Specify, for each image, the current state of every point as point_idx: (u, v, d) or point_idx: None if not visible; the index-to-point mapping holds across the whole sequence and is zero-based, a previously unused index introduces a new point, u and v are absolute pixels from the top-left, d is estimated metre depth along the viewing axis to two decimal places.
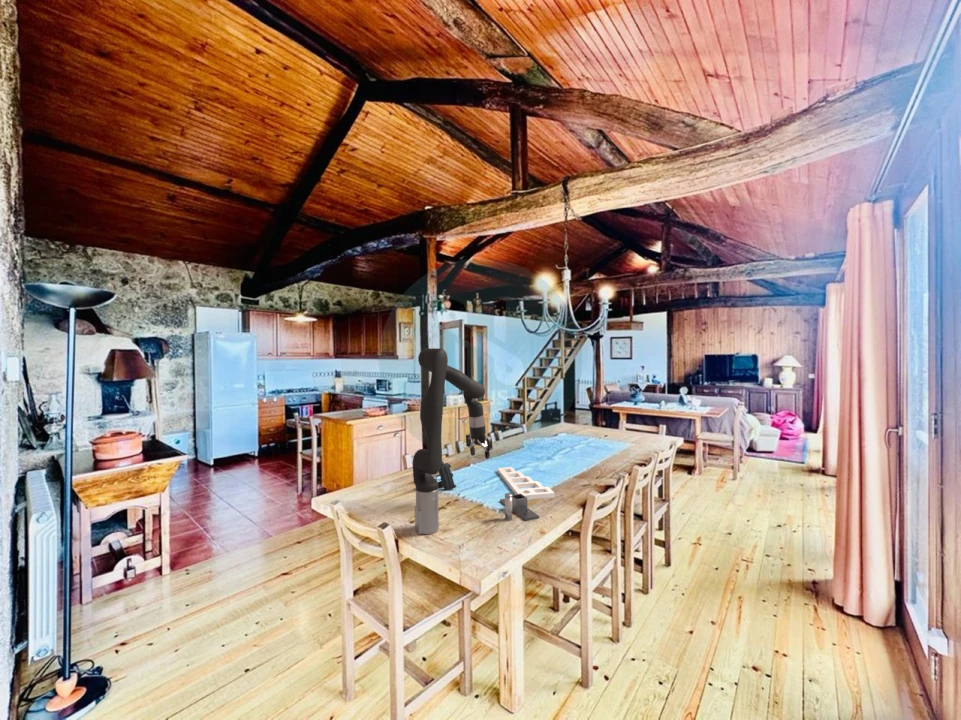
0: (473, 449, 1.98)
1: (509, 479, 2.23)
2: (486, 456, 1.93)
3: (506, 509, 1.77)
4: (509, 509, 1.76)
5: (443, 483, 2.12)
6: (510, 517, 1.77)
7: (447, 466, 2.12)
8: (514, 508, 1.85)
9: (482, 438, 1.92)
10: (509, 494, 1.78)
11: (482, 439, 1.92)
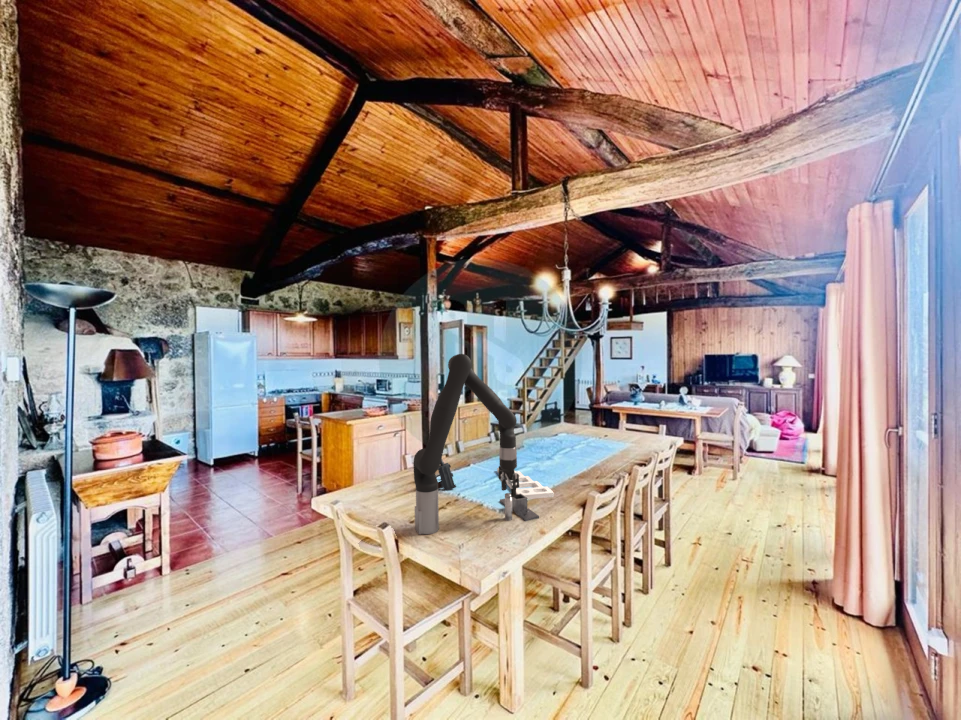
0: (504, 483, 1.81)
1: None
2: (512, 494, 1.73)
3: (506, 509, 1.77)
4: (509, 509, 1.76)
5: (443, 483, 2.12)
6: (510, 517, 1.77)
7: (447, 466, 2.12)
8: (514, 508, 1.85)
9: (509, 473, 1.74)
10: (509, 494, 1.78)
11: (509, 474, 1.74)
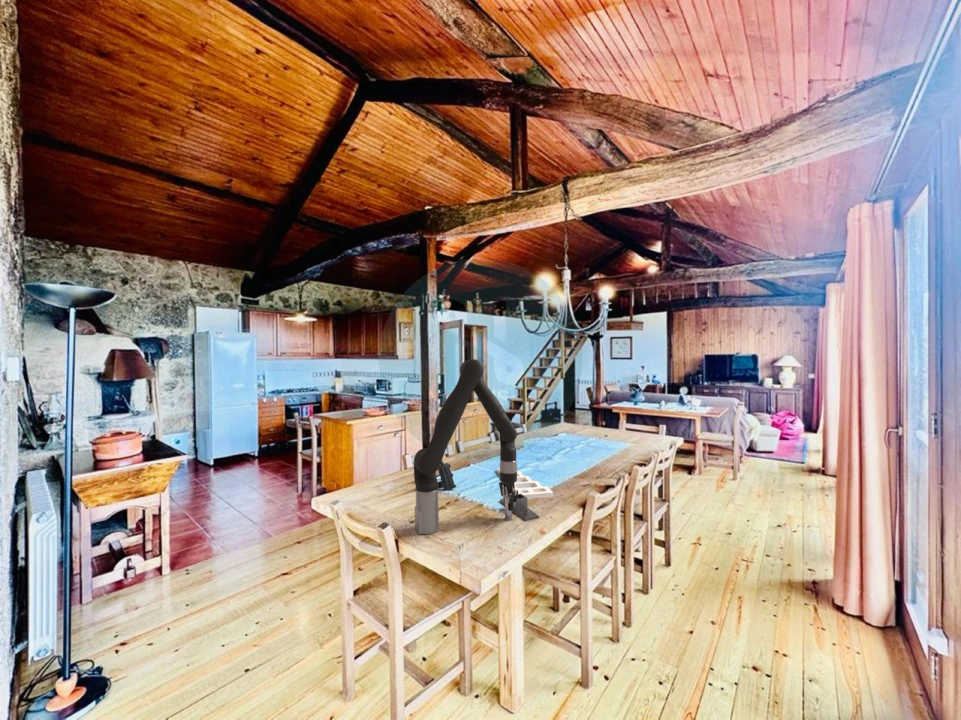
0: None
1: None
2: (509, 508, 1.76)
3: (506, 509, 1.77)
4: None
5: (443, 483, 2.12)
6: (510, 517, 1.77)
7: (447, 466, 2.12)
8: (514, 508, 1.85)
9: (510, 487, 1.74)
10: (509, 494, 1.78)
11: (509, 487, 1.74)
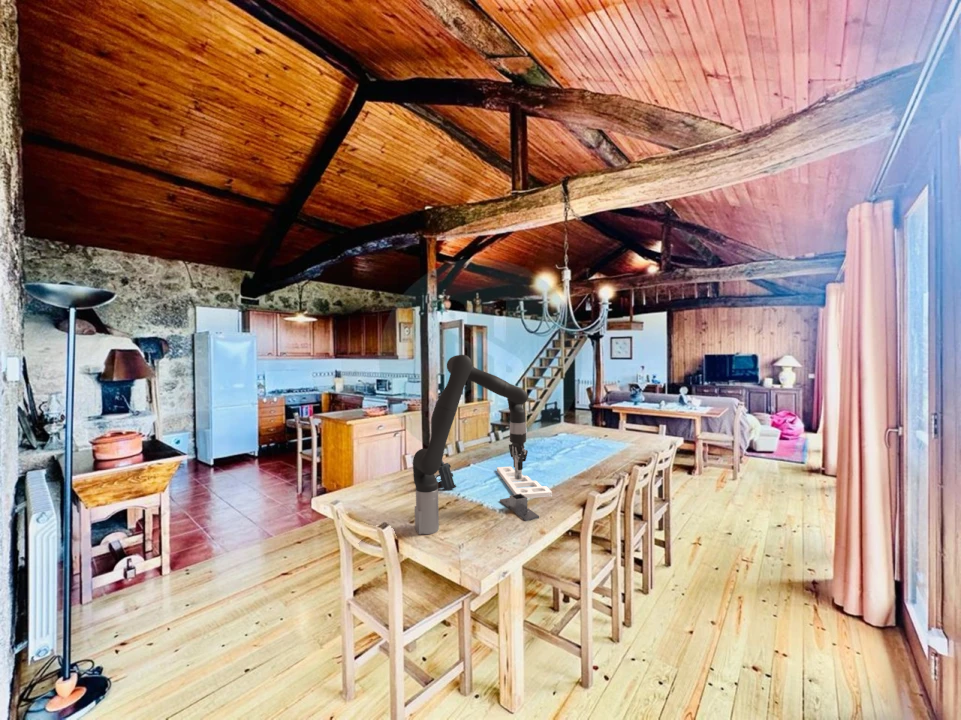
0: None
1: (508, 478, 2.24)
2: (518, 467, 1.85)
3: (516, 469, 1.86)
4: None
5: (443, 483, 2.12)
6: (520, 476, 1.86)
7: (447, 466, 2.12)
8: (514, 508, 1.85)
9: (519, 447, 1.83)
10: (519, 454, 1.87)
11: (519, 447, 1.84)
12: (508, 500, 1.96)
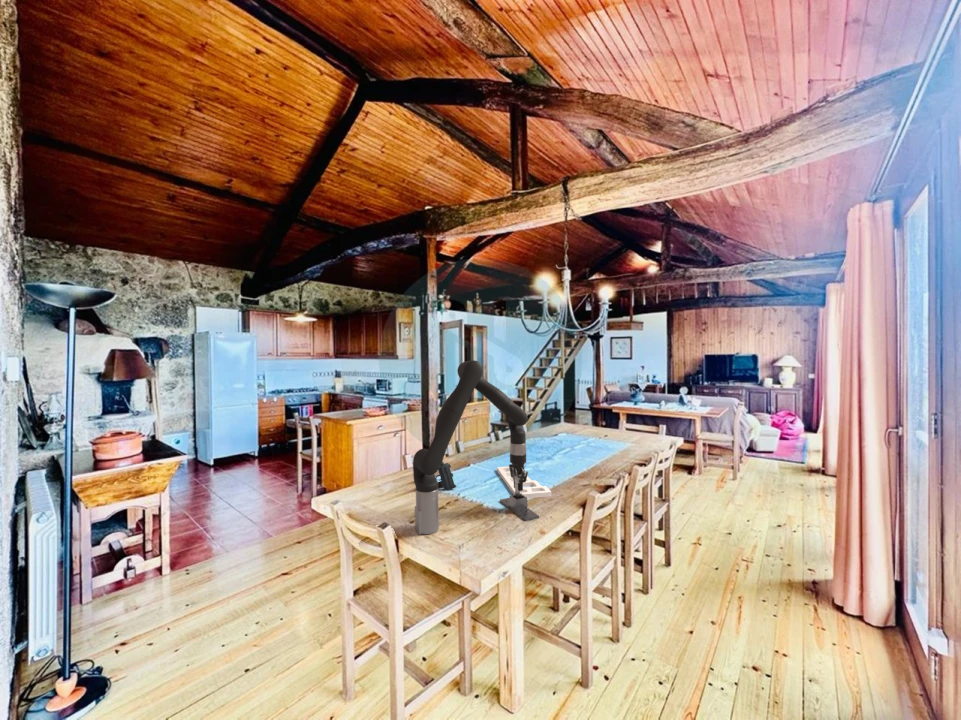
0: None
1: (507, 478, 2.25)
2: (518, 488, 1.85)
3: (516, 489, 1.87)
4: None
5: (443, 483, 2.12)
6: (520, 497, 1.87)
7: (447, 466, 2.12)
8: (514, 508, 1.85)
9: (519, 468, 1.84)
10: (519, 475, 1.88)
11: (519, 469, 1.84)
12: (508, 500, 1.96)
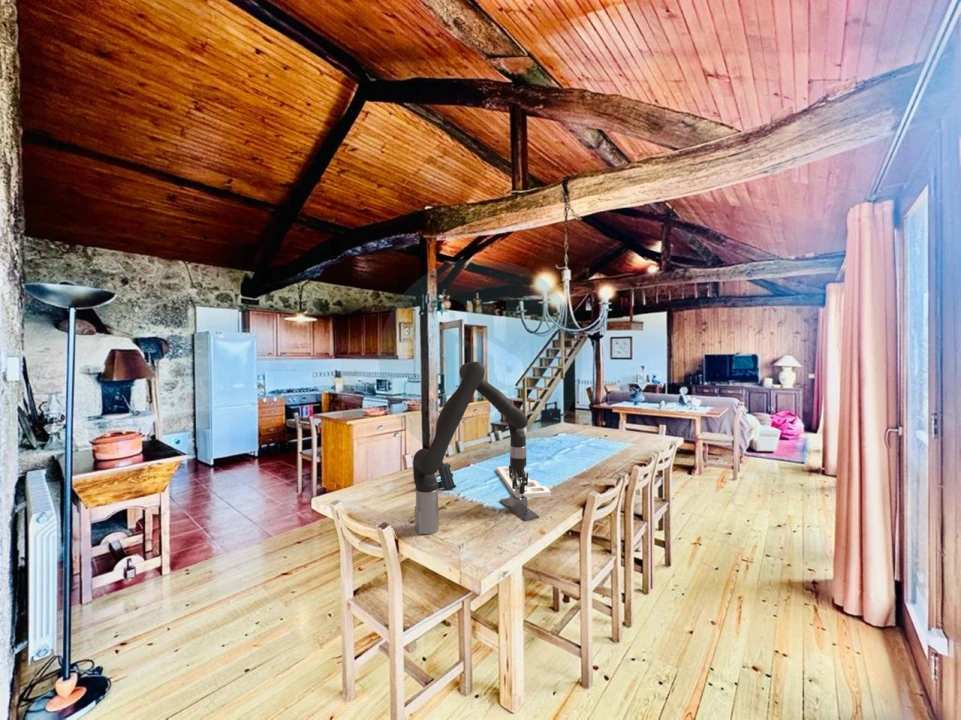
0: (515, 482, 1.91)
1: (507, 478, 2.25)
2: (520, 491, 1.84)
3: None
4: None
5: (443, 483, 2.12)
6: None
7: (447, 466, 2.12)
8: (514, 508, 1.85)
9: (519, 471, 1.84)
10: (519, 485, 1.88)
11: (519, 472, 1.84)
12: (508, 500, 1.96)
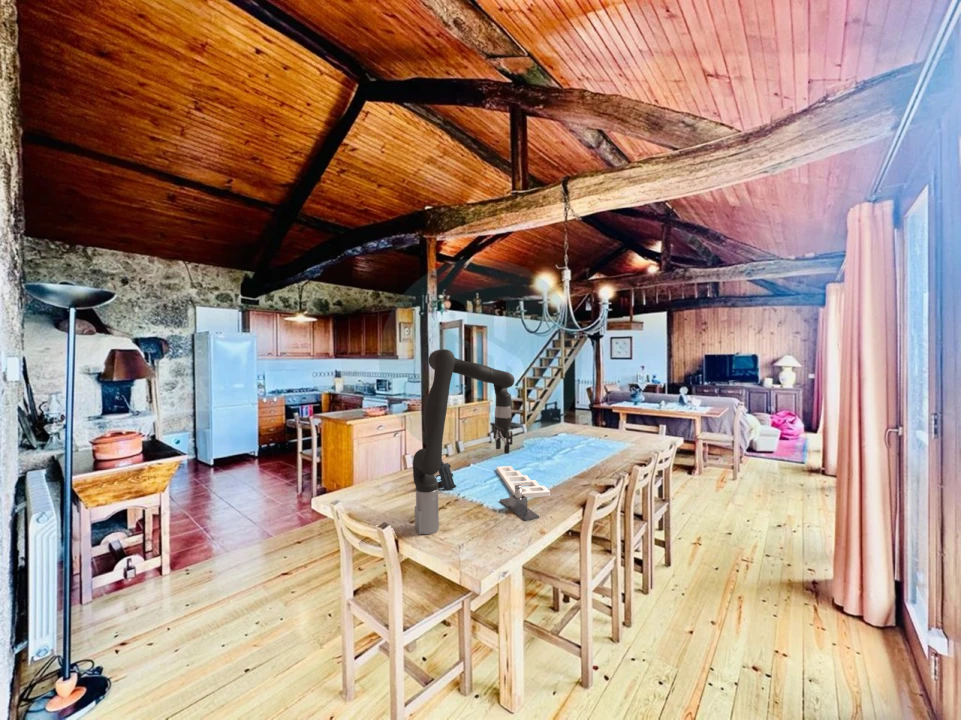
0: (498, 442, 1.89)
1: (507, 478, 2.25)
2: (505, 451, 1.81)
3: None
4: None
5: (443, 483, 2.12)
6: None
7: (447, 466, 2.12)
8: (514, 508, 1.85)
9: (504, 430, 1.82)
10: (519, 486, 1.88)
11: (504, 431, 1.82)
12: (508, 500, 1.96)
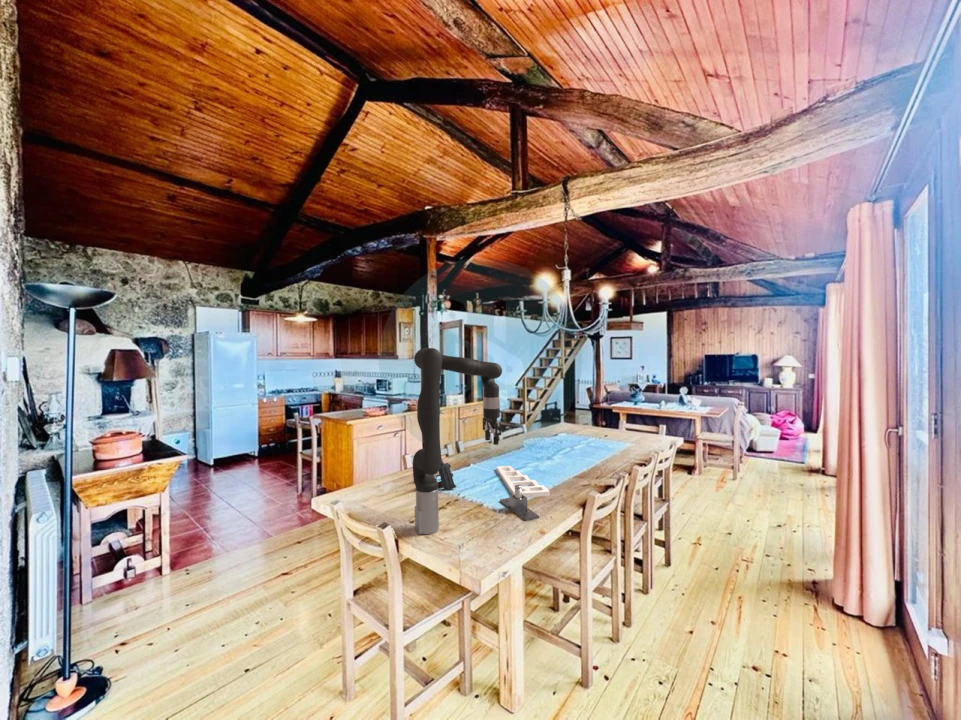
0: (488, 434, 1.88)
1: (506, 477, 2.26)
2: (494, 442, 1.80)
3: None
4: None
5: (443, 483, 2.12)
6: None
7: (447, 466, 2.12)
8: (514, 508, 1.85)
9: (492, 421, 1.81)
10: (519, 486, 1.88)
11: (492, 422, 1.81)
12: (508, 500, 1.96)
